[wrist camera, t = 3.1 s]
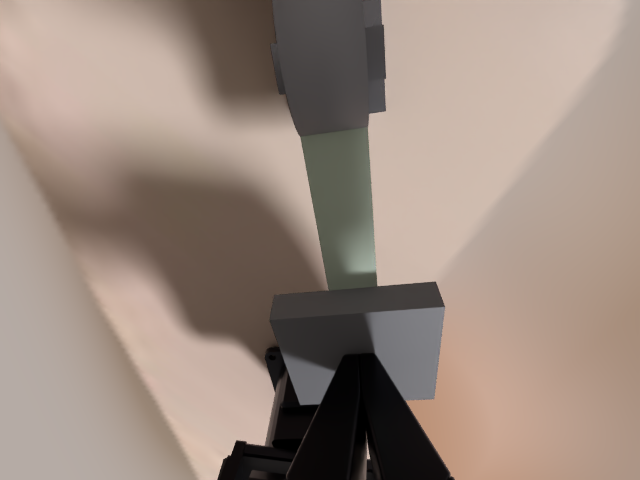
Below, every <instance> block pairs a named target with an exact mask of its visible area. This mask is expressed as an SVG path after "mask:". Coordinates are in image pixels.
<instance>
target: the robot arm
mask: <svg viewBox="0 0 640 480" xmlns="http://www.w3.org/2000/svg"><path fill="white" fill-rule="evenodd" d="M272 355H274V356H272ZM265 360H266V363H267V367H268V370H269V373H270V377H271V380H272V383H273V387H274V390H275V397H274V402H273V407H272V412H271V417H270V422H269V427H268V432H267V437H266V442H265V446H261V445H254V444H247V442H246V441H238V440H236V443H235V446H234V448H233V451H232V454H231V456H229V455H228V457H227V458H225V459H223V463H222V466H221V469H220V473H219V476H218V479H217V480H455V479H454V478H453V477H450V472H449V470H448V468H447V467H446V465H445V464H444V462H443V460H442V459H441V457H440V456H439V454H438V452H437V451H436V449H435V448H434V446H433V445H432V443H431V441H430V440H429V438H428V437H427V435H426V433H425V432H424V430H423V429H422V427H421V425H420V424H419V422H418V421H417V419H416V417H415V416H414V414H413V413H412V411H411V409H410V408H409V406H408V405H407V403H406V401H405V400H404V398H403V397H402V395H401V393H400V392H399V390H398V389H397V387H396V385H395V384H394V382H393V381H392V379H391V377H390V376H389V374H388V373H387V371H386V369H385V368H384V366H383V365H382V363H381V361H380V360H379V358H378V357H377V355H376V354H375V353H362V354H360V357H359V355H358V354H345V355H343V357H342V359H341V361H340V363H339V365H338V367H337V369H336V371H335V373H334V376H333V378H332V380H331V382H330V384H329V386H328V388H327V390H326V392H325V394H324V397H323V399H322V401H321V403H320V404H312V405H300V403H299V400H298V397H297V395H296V392H295V389H294V386H293V384H292V381H291V378H290V375H289V373H288V370H287V367H286V364H285V362H284V359H283V356H282V353H281V351H280V348H279V347H273V348H269V349H267V351H266V354H265ZM366 433H367V435H366ZM367 442H368V448H369V454H370V459H367Z"/></svg>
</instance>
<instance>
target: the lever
mask: <svg viewBox="0 0 640 480" xmlns="http://www.w3.org/2000/svg"><path fill="white" fill-rule="evenodd" d="M272 5H273V17H274V26H275V34H276V41H277V48H278V54H279V60H280V66H281V72H282V77H283V82H284V87H285V92H286V96H287V100H288V104H289V108H290V112H291V116H292V119H293V122H294V125H295V128H296V130H297V132H298V134H299V136H300V137H301V142H302V148H303V153H304V159H305V164H306V170H307V175H308V180H309V186H310V191H311V197H312V202H313V208H314V213H315V219H316V224H317V229H318V235H319V240H320V246H321V251H322V257H323V262H324V267H325V273H326V278H327V284H328V289H329V291H317V292H304V293H292V294H280V295H274V299H273V304H272V309H271V314H270V319H269V320H270V323H271V326H272V329H273V331H274V334H275V337H276V340H277V342H278V345H279V348H280V351H281V353H282V356H283V359H284V362H285V364H286V367H287V370H288V373H289V375H290V378H291V381H292V384H293V386H294V389H295V392H296V395H297V397H298V400H299V403H300V405H312V404H320V403H321V401H322V399H323V397H324V394H325V392H326V390H327V388H328V386H329V384H330V382H331V380H332V378H333V376H334V373H335V371H336V369H337V367H338V365H339V363H340V361H341V359H342V357H343V355H345V354H358V355H359V357H360V354H362V353H375V354H376V355H377V357H378V358H379V360H380V361H381V363H382V365H383V366H384V368H385V369H386V371H387V373H388V374H389V376H390V377H391V379H392V381H393V382H394V384H395V385H396V387H397V389H398V390H399V392H400V393H401V395H402V397H403V398H404V400H425V399H434V396H435V388H436V379H437V370H438V362H439V354H440V345H441V337H442V328H443V319H444V310H445V306H444V303H443V300H442V297H441V295H440V292H439V289H438V286H437V284H436V282H425V283H413V284H401V285H389V286H377V275H376V259H375V242H374V225H373V209H372V192H371V175H370V158H369V142H368V121H369V92H368V68H367V50H366V36H365V23H364V11H363V1H362V0H272Z"/></svg>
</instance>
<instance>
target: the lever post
mask: <svg viewBox="0 0 640 480" xmlns="http://www.w3.org/2000/svg"><path fill="white" fill-rule="evenodd" d="M363 11H364V23H365V36H366V50H367V68H368V92H369V114H370V113H377V112H384V111H386V105H385V83H384V79H386V70H385V46H384V25H382V17H381V0H364V1H363ZM270 46H271V52H272V58H273V63H274V69H275V74H276V80H277V85H278V91H279V95H281V94H286V92H285V87H284V82H283V77H282V72H281V66H280V60H279V54H278V48H277V43H273V44H270Z"/></svg>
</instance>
